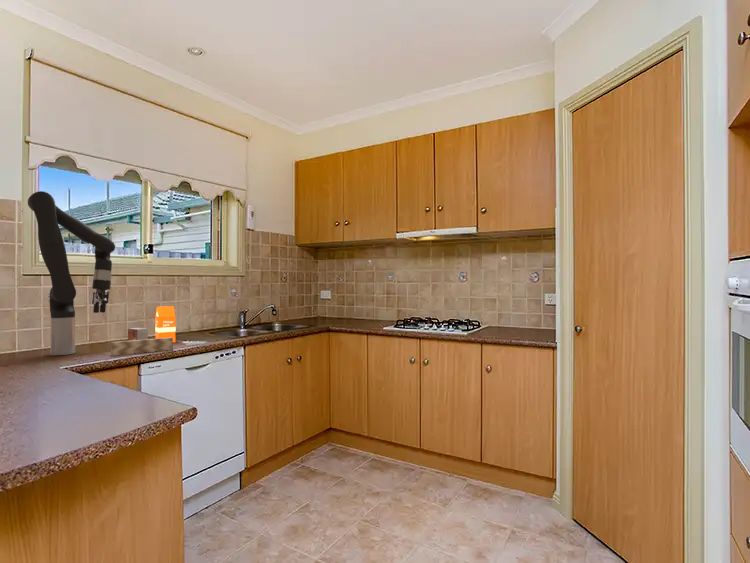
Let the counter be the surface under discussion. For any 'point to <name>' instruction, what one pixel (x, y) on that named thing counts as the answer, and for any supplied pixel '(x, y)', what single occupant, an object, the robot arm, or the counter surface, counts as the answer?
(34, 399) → the counter surface
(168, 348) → the board
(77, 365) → the counter surface
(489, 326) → the counter surface
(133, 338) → the small box
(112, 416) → the counter surface
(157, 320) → the orange juice
